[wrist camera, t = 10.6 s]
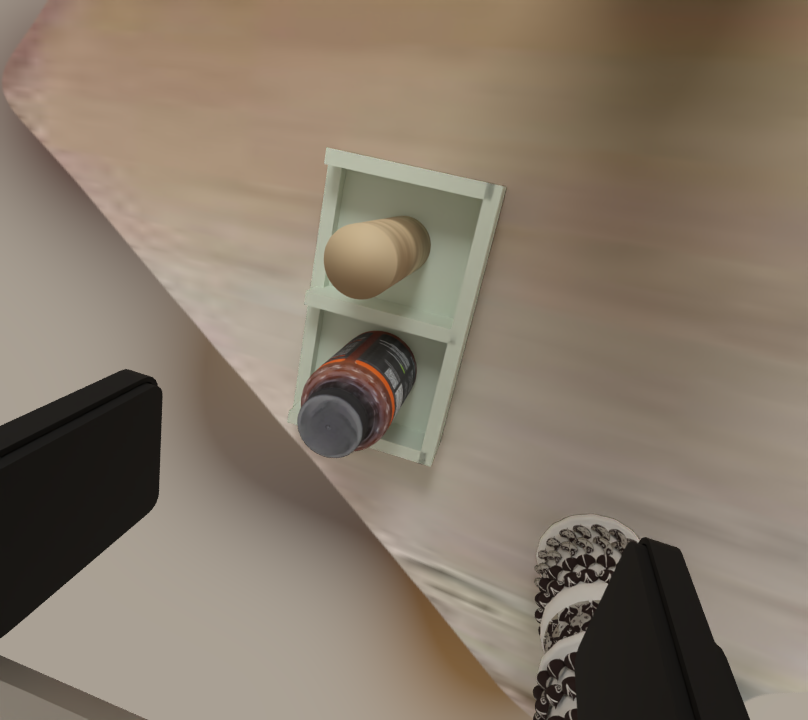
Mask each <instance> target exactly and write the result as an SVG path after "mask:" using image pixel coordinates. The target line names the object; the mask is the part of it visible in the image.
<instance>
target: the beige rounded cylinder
mask: <svg viewBox="0 0 808 720" xmlns="http://www.w3.org/2000/svg"><path fill="white" fill-rule="evenodd" d="M430 249H431V241H430V236H429V233H428V231H427V229H426V228H425V227H424V225H423V224H422V223H421V222H419V221H418V220H416V219H415V218H412V217H409V216H396V217H390V218H384V219H378V220H372V221H366V222H360V223H354V224H349V225H346V226H344V227H342V228H340V229H338V230H337V231H336V232H335V233H334V234H333V235H332V236H331V237H330V239H329V241H328V242H327V245H326V247H325V251H324V268H325V271H326V274H327V277H328V279H329V280H330V282H331V283H332V285H333V286H334V287H335V288H336V289H337V290H338V291H339V292H340V293H342V294H344V295H345V296H347V297H350V298H353V299H369V298H373V297H375V296H377V295H379V294H381V293H382V292H384V291H385V290H387V289H388V288H390V287H391V286H393V285H394V284H396V283H398V282H399V281H401V280H402V279H404V278H405V277H407V276H408V275H410V274H411V273H413V272H414V271H416V270H418V269H419V268H420V267H421V266H423V265H424V263H425V262H426V260H427V259H428V257H429V254H430Z"/></svg>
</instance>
